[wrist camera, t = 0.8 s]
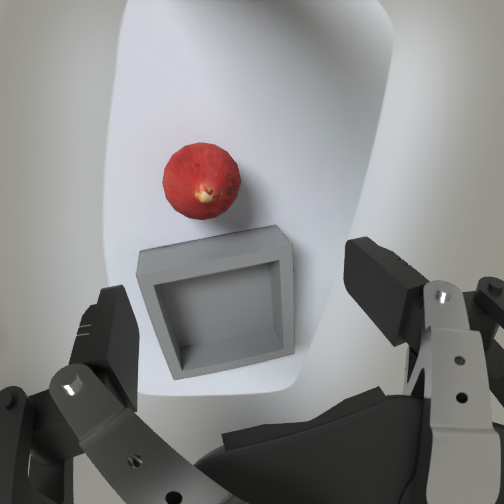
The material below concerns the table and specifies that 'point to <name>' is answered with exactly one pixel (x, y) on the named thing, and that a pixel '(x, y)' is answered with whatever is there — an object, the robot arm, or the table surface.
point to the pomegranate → (201, 181)
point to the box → (220, 300)
